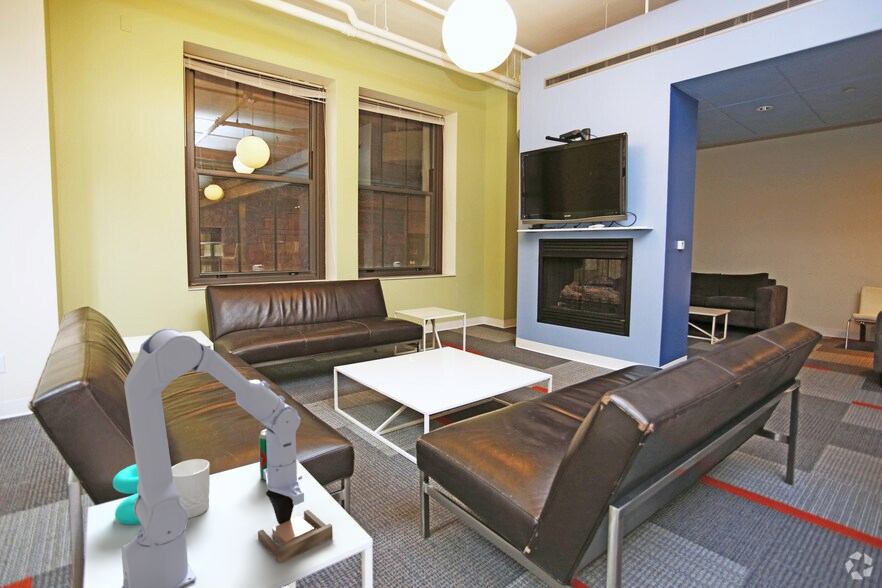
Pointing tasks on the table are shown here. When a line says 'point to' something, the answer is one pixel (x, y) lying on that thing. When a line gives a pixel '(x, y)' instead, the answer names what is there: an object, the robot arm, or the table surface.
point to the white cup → (192, 485)
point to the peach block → (291, 530)
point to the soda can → (262, 452)
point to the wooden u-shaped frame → (301, 543)
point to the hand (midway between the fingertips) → (284, 522)
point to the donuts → (127, 484)
